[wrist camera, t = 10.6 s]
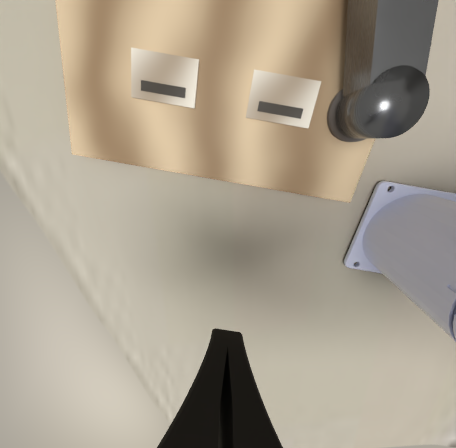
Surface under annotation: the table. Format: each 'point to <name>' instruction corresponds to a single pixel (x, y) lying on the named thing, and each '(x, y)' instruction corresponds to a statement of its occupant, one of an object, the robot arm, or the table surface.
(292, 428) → the table surface
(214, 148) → the label board
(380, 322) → the table surface
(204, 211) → the table surface
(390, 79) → the swing bar
